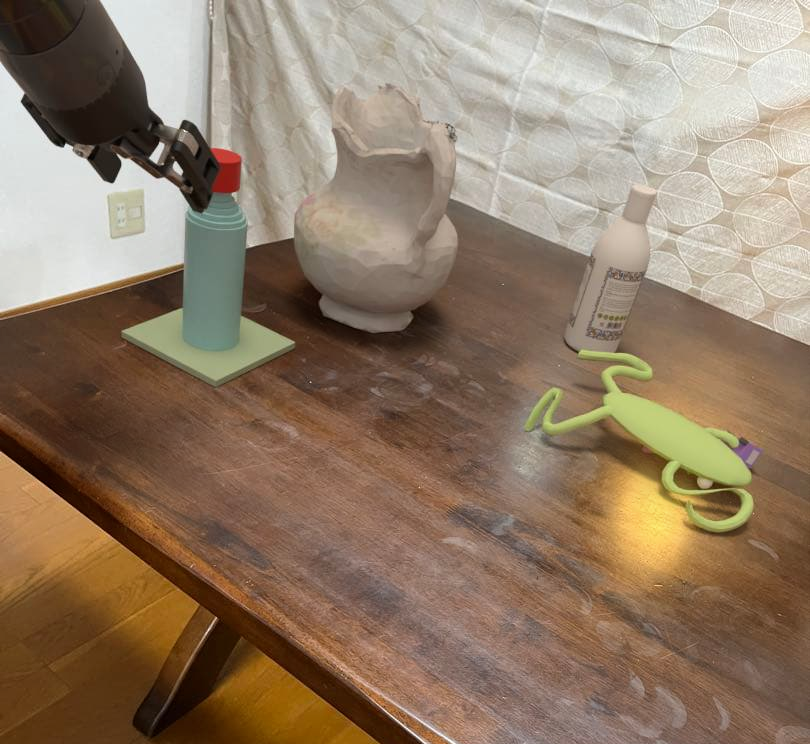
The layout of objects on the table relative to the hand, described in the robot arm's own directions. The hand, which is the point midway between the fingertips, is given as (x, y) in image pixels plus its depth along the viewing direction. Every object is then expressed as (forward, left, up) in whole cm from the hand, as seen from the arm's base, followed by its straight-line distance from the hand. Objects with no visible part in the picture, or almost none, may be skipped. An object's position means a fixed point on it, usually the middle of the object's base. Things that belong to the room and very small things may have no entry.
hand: (158, 187), depth 73 cm
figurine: (+42, +29, -19) cm, 55 cm away
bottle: (-2, +10, -18) cm, 21 cm away
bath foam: (+28, +48, -19) cm, 59 cm away
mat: (-2, +10, -19) cm, 22 cm away
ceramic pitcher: (+5, +31, -19) cm, 37 cm away
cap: (-2, +10, -2) cm, 11 cm away
